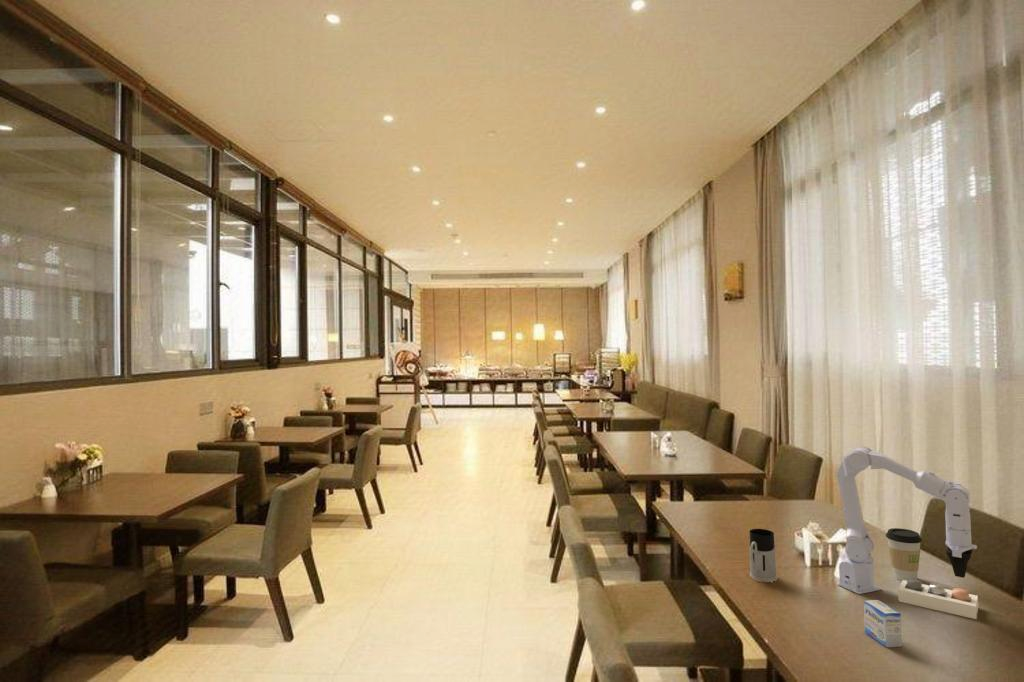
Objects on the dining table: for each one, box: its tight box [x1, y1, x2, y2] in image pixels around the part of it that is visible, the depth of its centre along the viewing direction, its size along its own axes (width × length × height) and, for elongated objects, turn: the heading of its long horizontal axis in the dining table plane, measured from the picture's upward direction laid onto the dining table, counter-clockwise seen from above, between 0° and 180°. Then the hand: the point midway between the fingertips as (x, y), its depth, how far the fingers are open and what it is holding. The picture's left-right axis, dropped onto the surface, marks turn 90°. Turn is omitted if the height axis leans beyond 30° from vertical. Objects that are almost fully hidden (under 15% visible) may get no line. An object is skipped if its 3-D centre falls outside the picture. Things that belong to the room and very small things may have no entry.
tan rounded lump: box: [952, 587, 970, 602], centre depth 161 cm, size 4×4×3 cm
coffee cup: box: [885, 527, 923, 582], centre depth 184 cm, size 10×10×15 cm
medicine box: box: [863, 599, 903, 649], centre depth 147 cm, size 8×4×9 cm, turn 5°
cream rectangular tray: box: [897, 580, 979, 620], centre depth 165 cm, size 18×9×4 cm, turn 48°
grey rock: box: [929, 582, 946, 597], centre depth 165 cm, size 4×4×3 cm
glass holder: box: [749, 528, 778, 583], centre depth 186 cm, size 9×14×15 cm, turn 137°
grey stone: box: [907, 578, 923, 592], centre depth 169 cm, size 4×4×3 cm
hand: (960, 575), depth 162 cm, fingers closed
